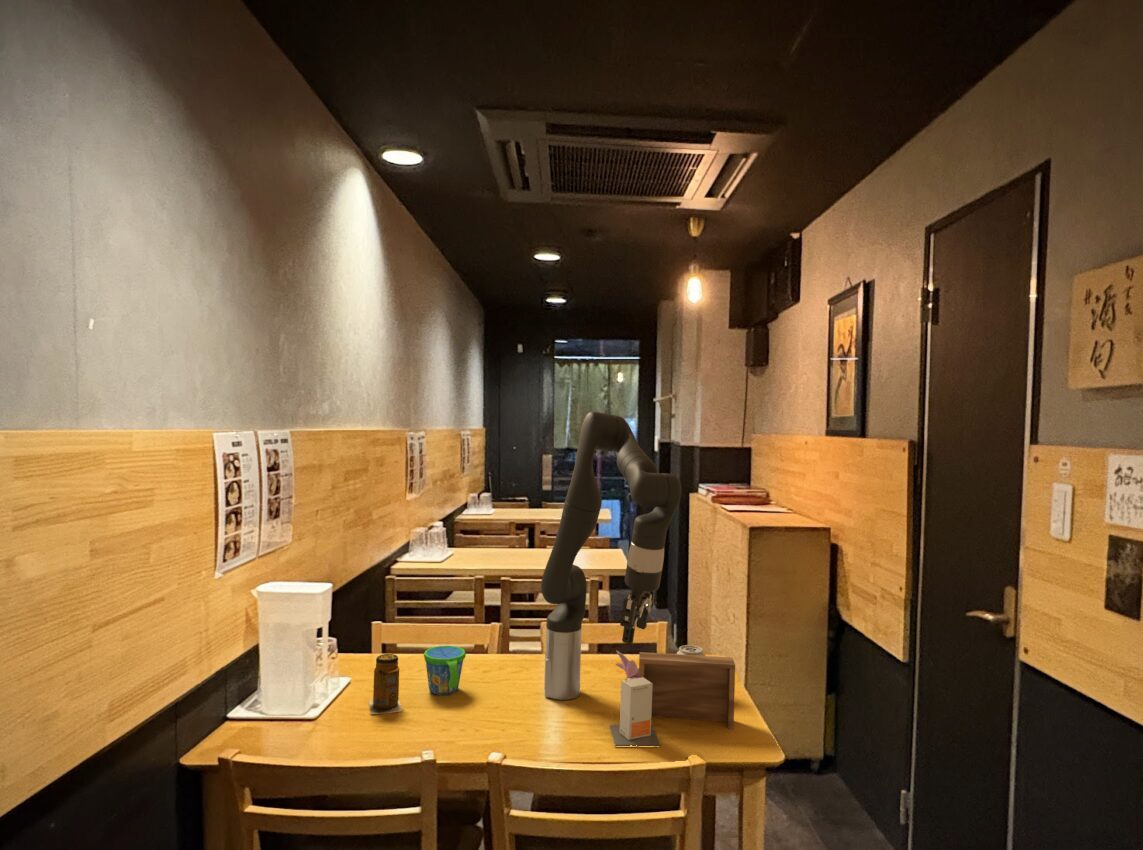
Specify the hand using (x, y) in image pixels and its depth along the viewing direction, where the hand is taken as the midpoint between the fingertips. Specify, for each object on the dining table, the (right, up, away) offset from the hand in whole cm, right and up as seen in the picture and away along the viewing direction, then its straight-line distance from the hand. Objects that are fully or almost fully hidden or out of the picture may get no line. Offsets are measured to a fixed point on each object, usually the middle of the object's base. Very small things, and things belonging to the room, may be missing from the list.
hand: (634, 635), depth 146 cm
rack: (+14, -26, +16) cm, 33 cm away
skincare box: (+1, -25, +7) cm, 26 cm away
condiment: (-59, -24, +20) cm, 67 cm away
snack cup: (-47, -24, +31) cm, 61 cm away
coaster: (+1, -25, +7) cm, 26 cm away
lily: (+3, -26, +35) cm, 44 cm away
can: (+18, -26, +33) cm, 46 cm away
